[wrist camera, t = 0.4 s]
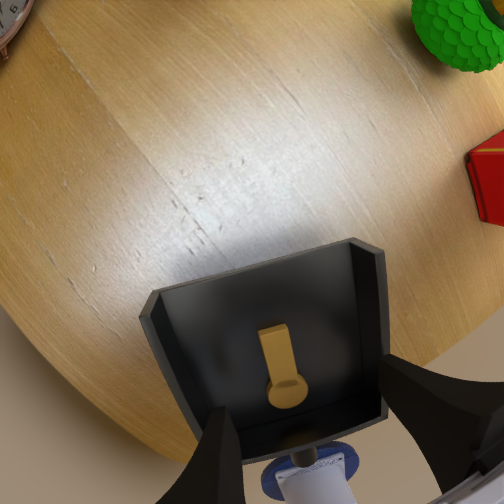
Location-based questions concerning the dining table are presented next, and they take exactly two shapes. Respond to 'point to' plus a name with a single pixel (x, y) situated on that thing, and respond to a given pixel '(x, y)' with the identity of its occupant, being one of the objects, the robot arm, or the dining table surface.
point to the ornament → (462, 31)
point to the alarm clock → (12, 20)
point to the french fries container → (489, 178)
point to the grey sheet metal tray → (302, 340)
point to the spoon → (281, 368)
